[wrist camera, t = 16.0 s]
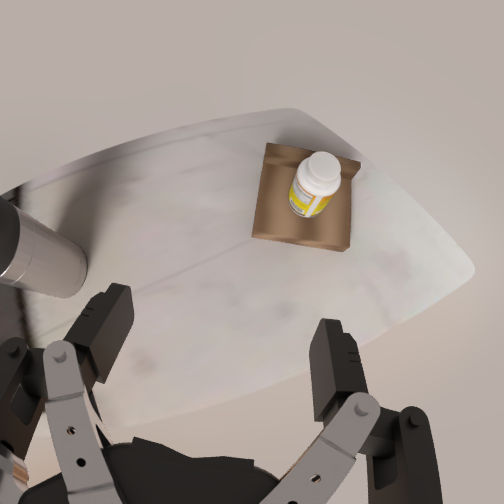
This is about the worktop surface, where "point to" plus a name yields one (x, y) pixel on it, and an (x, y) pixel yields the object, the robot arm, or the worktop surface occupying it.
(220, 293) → the worktop surface
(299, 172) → the supplement bottle
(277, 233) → the walnut shelf step
